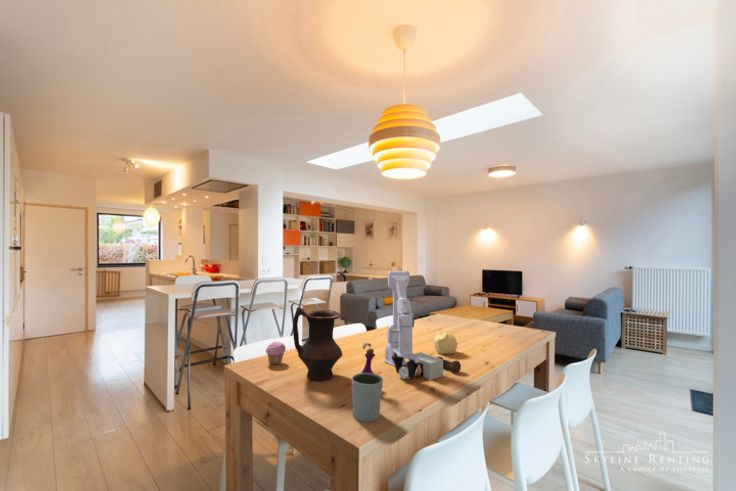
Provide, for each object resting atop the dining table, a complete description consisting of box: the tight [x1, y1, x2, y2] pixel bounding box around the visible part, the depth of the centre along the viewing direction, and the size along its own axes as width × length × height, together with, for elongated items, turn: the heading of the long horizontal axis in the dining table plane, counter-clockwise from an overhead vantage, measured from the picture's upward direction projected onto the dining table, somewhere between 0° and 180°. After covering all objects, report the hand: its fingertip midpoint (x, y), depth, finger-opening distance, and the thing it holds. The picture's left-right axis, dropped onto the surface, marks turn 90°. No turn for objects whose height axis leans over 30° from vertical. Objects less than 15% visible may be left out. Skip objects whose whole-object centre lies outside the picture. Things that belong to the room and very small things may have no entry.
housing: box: [407, 351, 444, 381], centre depth 146 cm, size 13×8×7 cm, turn 37°
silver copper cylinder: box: [398, 363, 423, 380], centre depth 142 cm, size 6×14×6 cm, turn 127°
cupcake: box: [265, 341, 286, 365], centre depth 157 cm, size 9×9×10 cm
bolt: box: [436, 356, 462, 375], centre depth 153 cm, size 6×5×15 cm
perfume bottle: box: [361, 342, 376, 374], centre depth 128 cm, size 8×8×18 cm
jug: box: [292, 305, 344, 382], centre depth 141 cm, size 21×18×30 cm
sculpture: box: [433, 331, 458, 355], centre depth 177 cm, size 12×12×11 cm
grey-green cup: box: [351, 372, 384, 423], centre depth 108 cm, size 10×10×12 cm
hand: (405, 375), depth 139 cm, fingers open, 7 cm apart
